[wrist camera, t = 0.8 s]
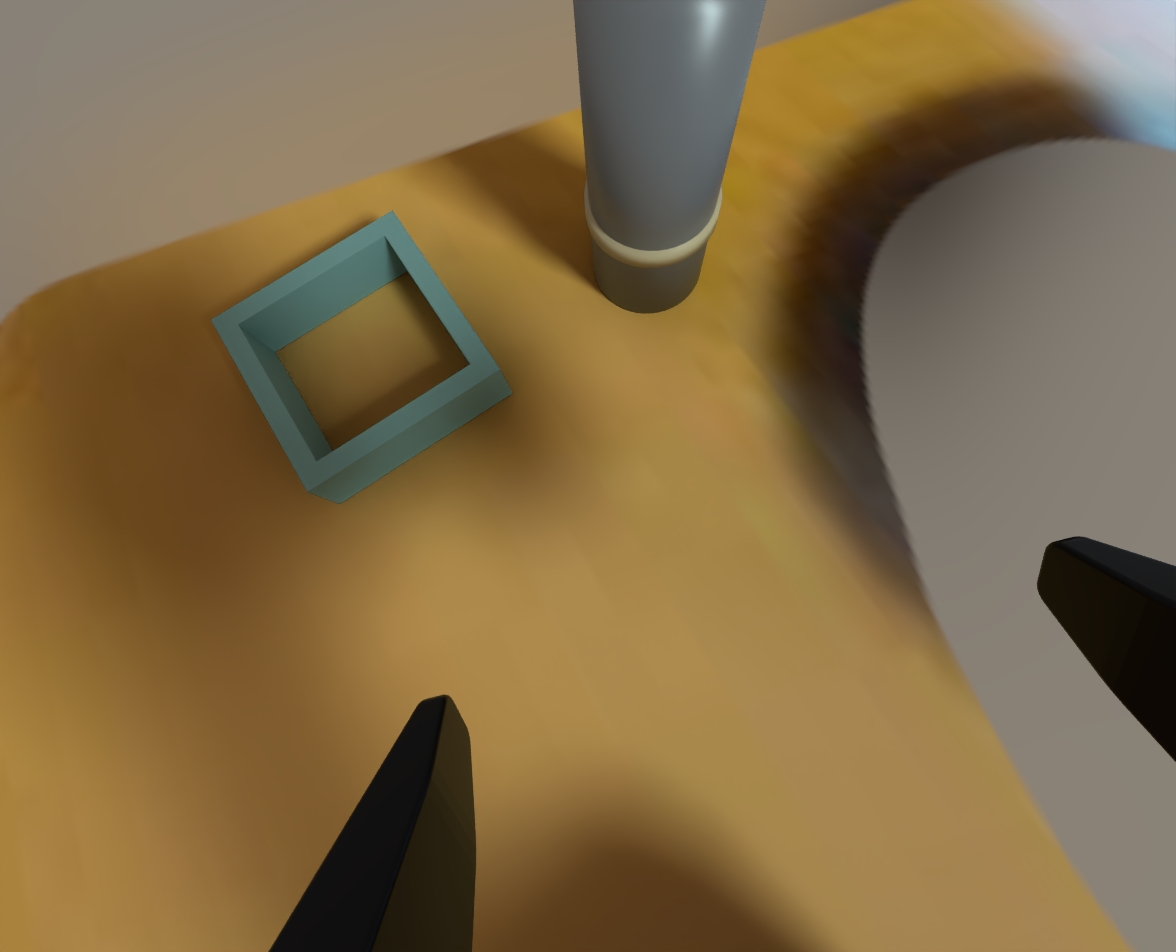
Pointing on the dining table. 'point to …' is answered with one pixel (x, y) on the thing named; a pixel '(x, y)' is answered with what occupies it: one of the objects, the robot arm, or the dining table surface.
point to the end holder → (316, 299)
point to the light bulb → (658, 136)
